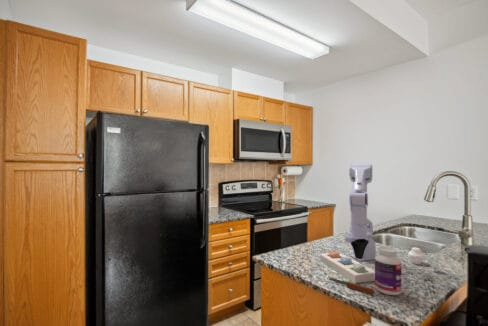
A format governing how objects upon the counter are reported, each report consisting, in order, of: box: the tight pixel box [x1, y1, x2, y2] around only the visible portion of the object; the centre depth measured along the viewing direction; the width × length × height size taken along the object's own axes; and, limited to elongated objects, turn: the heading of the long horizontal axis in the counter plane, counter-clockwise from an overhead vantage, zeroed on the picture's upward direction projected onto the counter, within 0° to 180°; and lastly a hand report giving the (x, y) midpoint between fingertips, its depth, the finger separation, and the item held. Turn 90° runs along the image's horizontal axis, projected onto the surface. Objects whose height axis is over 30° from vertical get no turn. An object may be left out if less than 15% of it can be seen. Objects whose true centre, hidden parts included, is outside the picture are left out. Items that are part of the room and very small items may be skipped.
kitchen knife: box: [328, 277, 375, 296], centre depth 91 cm, size 16×1×2 cm, turn 47°
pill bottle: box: [374, 246, 403, 296], centre depth 89 cm, size 8×8×14 cm
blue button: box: [340, 257, 353, 265], centre depth 108 cm, size 4×4×2 cm
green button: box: [353, 263, 366, 273], centre depth 100 cm, size 4×4×2 cm
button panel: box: [319, 252, 375, 284], centre depth 108 cm, size 10×24×3 cm, turn 15°
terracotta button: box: [328, 251, 341, 259], centre depth 115 cm, size 4×4×2 cm
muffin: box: [407, 246, 426, 265], centre depth 115 cm, size 6×6×7 cm
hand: (359, 258), depth 100 cm, fingers closed
